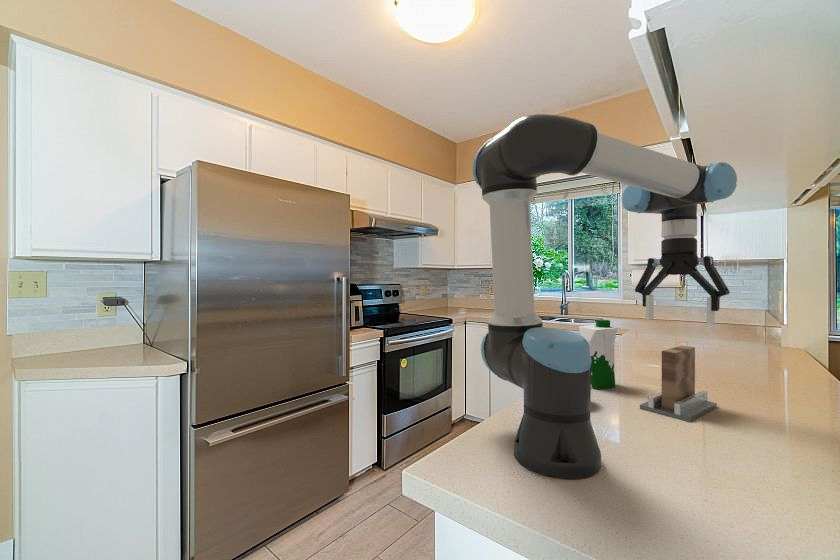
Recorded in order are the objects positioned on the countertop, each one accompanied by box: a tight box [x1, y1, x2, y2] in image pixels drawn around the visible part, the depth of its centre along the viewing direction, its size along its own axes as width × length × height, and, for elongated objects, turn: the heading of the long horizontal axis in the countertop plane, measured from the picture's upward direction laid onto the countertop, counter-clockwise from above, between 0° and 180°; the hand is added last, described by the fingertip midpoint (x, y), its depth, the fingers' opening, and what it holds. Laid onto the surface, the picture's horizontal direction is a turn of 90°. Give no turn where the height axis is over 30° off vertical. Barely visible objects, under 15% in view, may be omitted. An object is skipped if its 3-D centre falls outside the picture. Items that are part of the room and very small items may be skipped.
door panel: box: [661, 345, 696, 410], centre depth 97 cm, size 12×3×14 cm, turn 125°
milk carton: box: [578, 319, 618, 390], centre depth 117 cm, size 9×9×20 cm
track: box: [639, 390, 718, 423], centre depth 97 cm, size 17×11×4 cm, turn 125°
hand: (678, 322), depth 97 cm, fingers open, 13 cm apart
